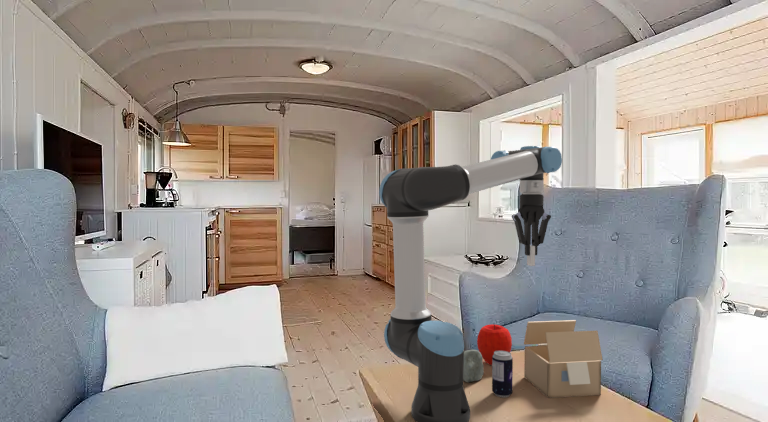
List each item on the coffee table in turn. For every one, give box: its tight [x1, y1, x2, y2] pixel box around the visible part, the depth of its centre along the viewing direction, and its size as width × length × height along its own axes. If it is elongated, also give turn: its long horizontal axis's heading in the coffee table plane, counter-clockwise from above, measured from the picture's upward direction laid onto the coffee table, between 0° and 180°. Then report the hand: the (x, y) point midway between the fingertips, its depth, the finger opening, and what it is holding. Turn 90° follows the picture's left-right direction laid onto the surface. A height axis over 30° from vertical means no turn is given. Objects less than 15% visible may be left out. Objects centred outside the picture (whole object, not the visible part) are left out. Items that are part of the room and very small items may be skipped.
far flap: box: [523, 319, 577, 346], centre depth 154 cm, size 16×14×1 cm
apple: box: [476, 324, 513, 367], centre depth 165 cm, size 12×12×13 cm
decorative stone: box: [463, 349, 485, 383], centre depth 153 cm, size 13×11×10 cm
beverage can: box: [491, 351, 514, 398], centre depth 139 cm, size 6×6×12 cm
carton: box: [523, 345, 602, 399], centre depth 146 cm, size 16×16×10 cm
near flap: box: [545, 330, 603, 385], centre depth 137 cm, size 16×14×1 cm
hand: (530, 265), depth 160 cm, fingers closed
